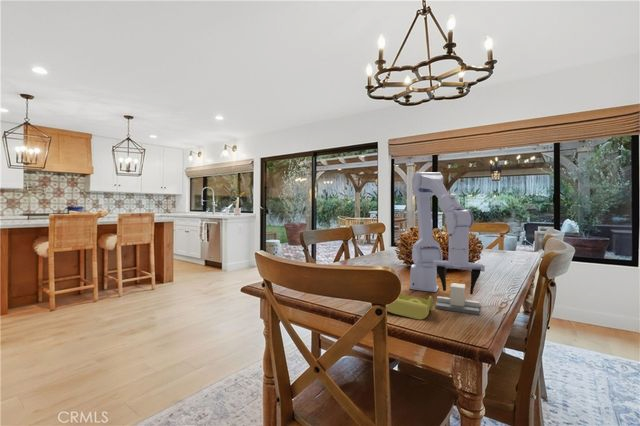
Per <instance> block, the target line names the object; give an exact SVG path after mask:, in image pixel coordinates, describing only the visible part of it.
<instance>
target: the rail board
mask: <svg viewBox="0 0 640 426" xmlns="http://www.w3.org/2000/svg"><path fill="white" fill-rule="evenodd" d="M434 304H435V305H434V308H435V309H439V310H444V311H452V312H458V313H464V314H471V315H478V316H479V315H480V301H479V300H478V301H476V300H469V299H465V306H457V305H450V297H447V296H440V295H438V296H436V303H434Z"/></svg>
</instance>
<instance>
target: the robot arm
mask: <svg viewBox="0 0 640 426" xmlns="http://www.w3.org/2000/svg"><path fill="white" fill-rule="evenodd" d="M411 187H412V188H411V189H412V190H411V192H412V195H413V196H415V199H416V200H415V201H416V202H415V203H416V212H417V213H416V214H417V225H418V227H417V228H418V240H417V241H416V242H414V243H413V245H412V253H411V259H412V262H413V264H411V266H410V272H409V275H410V276H409V289H410V290H415V291H423V292H432V293H437V291H438V290H439V288H440V286H439V285H438V282H437V281H438V279H437V277H439V279H440V282H441V286H442V291H443V292H446V291H447V269H457V270H467V271H468V270H469V271H470V289H469V295H474V288H475V286H476V283H477V281H478V278H479V277H480V275H481V272H485V271H486V269H485V266H486V265H485V263H476V262H470V261H469V256H470V255H469V254H470V253H469V252H470V251H469V249H470V248H469V247H470V246H469V245H470V228H471V227H473V225H474V220H475V219H474V218H475V217H474V215H473V212H472V211H471V209H466V208H464V207H463V206H462V204H461V203H460V202H459V200H458V199H457V197H456V196H455V194H451V193H449V192H448V190H447V188H446V186H445V185H444V176H443V173H441V172H440V171H436V172H435V171H434V172H431V171H426V172H425V171H416V172H414V173H413V175H412V178H411ZM432 196H435V197H436V198H437V199H438V202H437V204H438V207H439V208H440V210H441V212H442V213H443V215H444V216H445V218H444V224H445V225H446V232H447V234H448V255H447V257H448V260H443V252H442V250H441V245H440V243H439V242H438V241H437V240H435V239H434V232H433V220H432V208H431V197H432Z"/></svg>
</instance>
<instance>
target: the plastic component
mask: <svg viewBox="0 0 640 426" xmlns="http://www.w3.org/2000/svg"><path fill="white" fill-rule="evenodd" d="M433 305H434V297H433V296H432V295H429V297H428V298H421V297H419V296H414V295H410V294H409V295H408V294H404V293H400V296H399V298H398V299H397V300H396V301H395V302H394V303H392V304H390V305H388V306H387V311H386V312H388V313H391V314H394V315H397V316H402V317H406V318H411V319H415V320H419V321H420V320H424V319H427V317H428V316H429V313H430V311H432V310H433Z"/></svg>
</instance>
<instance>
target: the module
mask: <svg viewBox="0 0 640 426" xmlns="http://www.w3.org/2000/svg"><path fill="white" fill-rule="evenodd" d="M449 298H450V305H457V306H465V300H466V284H465V283H458V282H457V283H454V282H451V284H450V287H449Z"/></svg>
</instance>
